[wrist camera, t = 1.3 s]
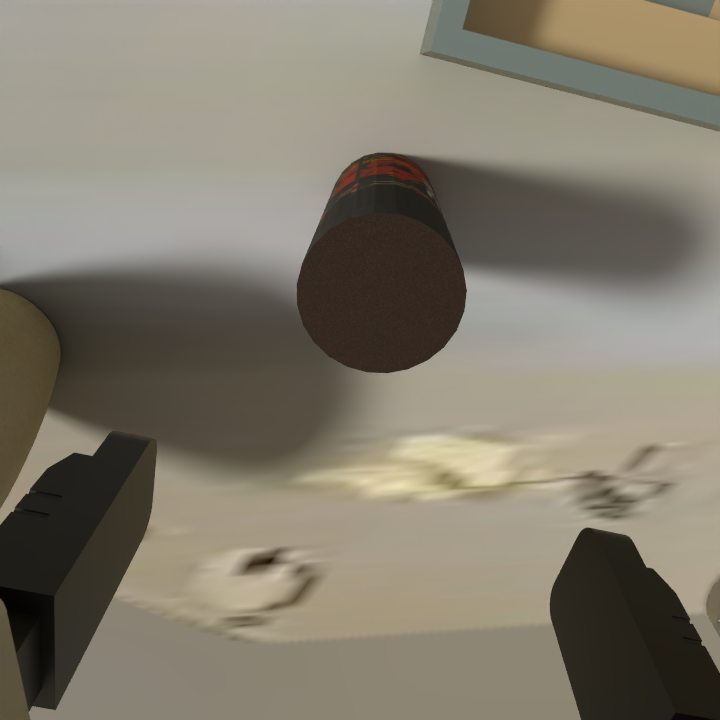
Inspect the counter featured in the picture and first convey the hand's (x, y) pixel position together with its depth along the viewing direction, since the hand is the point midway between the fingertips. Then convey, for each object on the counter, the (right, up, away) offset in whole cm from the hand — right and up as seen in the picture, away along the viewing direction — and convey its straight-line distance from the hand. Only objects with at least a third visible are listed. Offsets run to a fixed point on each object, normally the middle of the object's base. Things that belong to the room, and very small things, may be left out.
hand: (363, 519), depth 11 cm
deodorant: (+1, +12, +23) cm, 26 cm away
